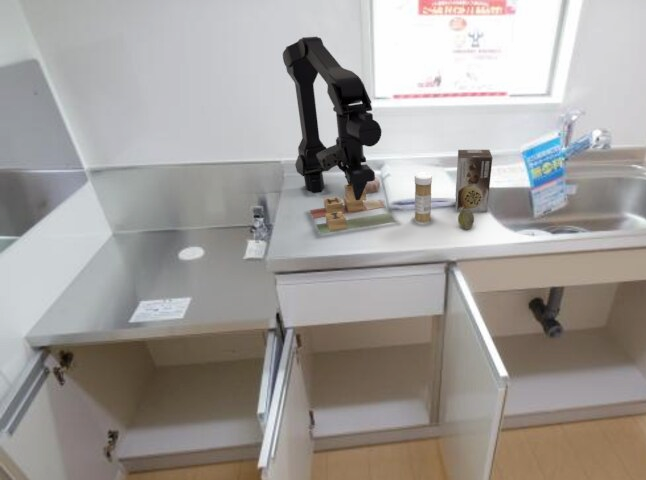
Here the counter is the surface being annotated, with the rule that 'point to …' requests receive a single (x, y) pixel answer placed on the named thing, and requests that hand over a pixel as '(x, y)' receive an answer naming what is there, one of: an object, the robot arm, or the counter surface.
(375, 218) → the letter board
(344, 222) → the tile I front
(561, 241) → the counter surface
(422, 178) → the sprinkles bottle
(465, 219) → the lime
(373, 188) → the garlic bulb
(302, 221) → the counter surface
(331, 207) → the tile
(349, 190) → the tile
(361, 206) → the tile
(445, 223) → the counter surface
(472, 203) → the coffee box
